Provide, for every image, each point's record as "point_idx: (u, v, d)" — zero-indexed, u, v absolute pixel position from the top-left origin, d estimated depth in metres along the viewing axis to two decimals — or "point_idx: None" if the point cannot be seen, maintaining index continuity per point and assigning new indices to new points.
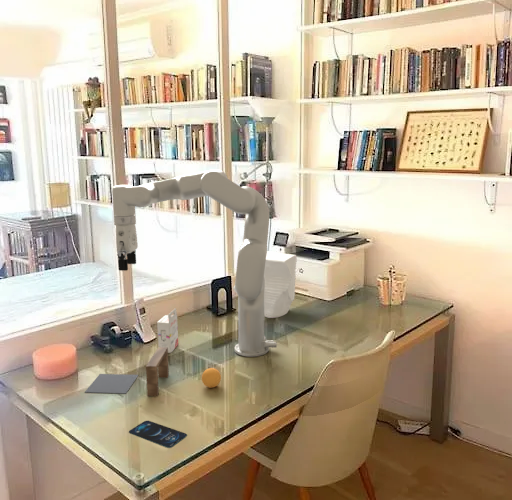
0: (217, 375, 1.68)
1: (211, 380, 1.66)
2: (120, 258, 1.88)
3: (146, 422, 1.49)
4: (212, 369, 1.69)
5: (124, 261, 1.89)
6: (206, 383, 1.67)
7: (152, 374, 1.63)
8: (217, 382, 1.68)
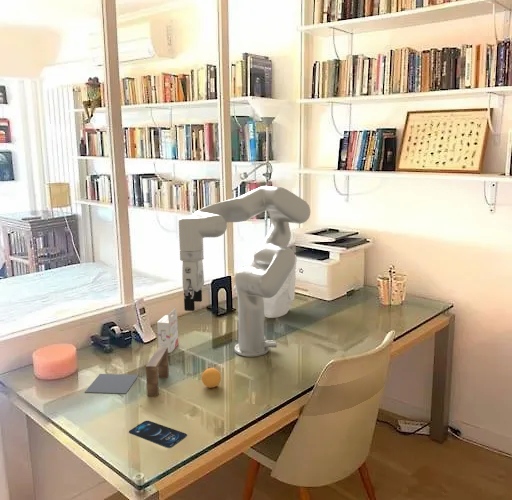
0: (217, 375, 1.68)
1: (211, 380, 1.66)
2: (187, 298, 1.70)
3: (146, 422, 1.49)
4: (212, 369, 1.69)
5: (191, 301, 1.71)
6: (206, 383, 1.67)
7: (152, 374, 1.63)
8: (217, 382, 1.68)
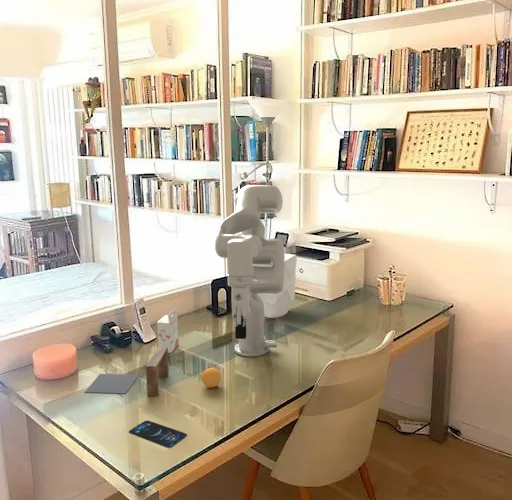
0: (217, 375, 1.68)
1: (211, 380, 1.66)
2: (239, 325, 1.63)
3: (146, 422, 1.49)
4: (212, 369, 1.69)
5: (243, 328, 1.64)
6: (206, 383, 1.67)
7: (152, 374, 1.63)
8: (217, 382, 1.68)
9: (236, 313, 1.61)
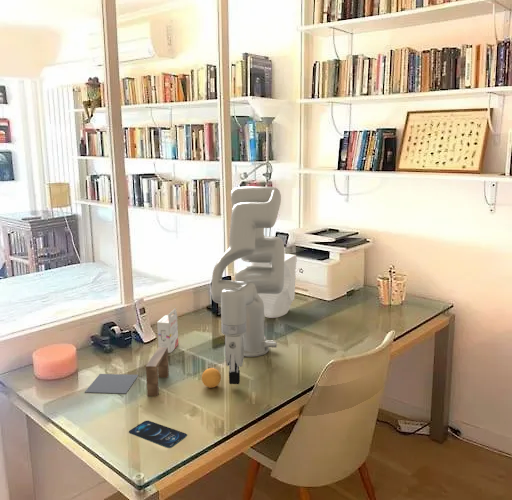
0: (217, 375, 1.68)
1: (211, 380, 1.66)
2: (232, 372, 1.66)
3: (146, 422, 1.49)
4: (212, 369, 1.69)
5: (236, 374, 1.67)
6: (206, 383, 1.67)
7: (152, 374, 1.63)
8: (217, 382, 1.68)
9: (230, 360, 1.64)
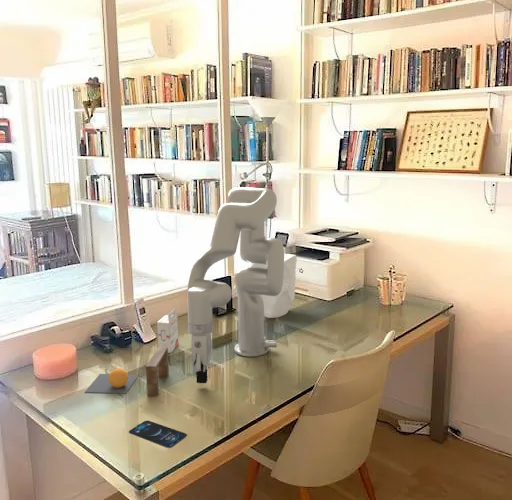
0: None
1: (115, 383, 1.67)
2: (199, 371, 1.67)
3: (146, 422, 1.49)
4: None
5: (203, 373, 1.68)
6: (120, 379, 1.67)
7: (152, 374, 1.63)
8: (110, 379, 1.68)
9: (196, 359, 1.65)
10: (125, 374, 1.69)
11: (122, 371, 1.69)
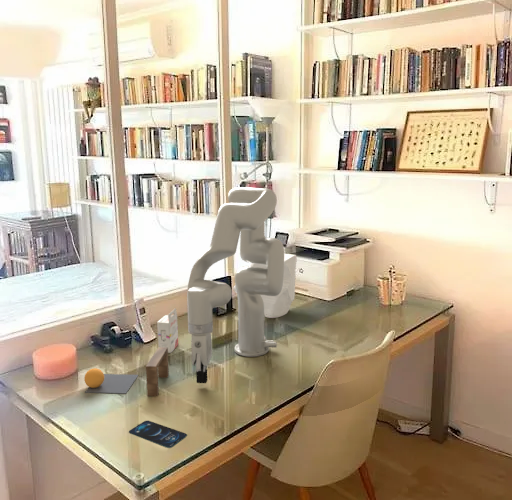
0: (100, 379, 1.68)
1: (92, 381, 1.67)
2: (199, 371, 1.67)
3: (146, 422, 1.49)
4: (99, 371, 1.69)
5: (203, 373, 1.68)
6: (87, 381, 1.67)
7: (152, 374, 1.63)
8: (97, 385, 1.68)
9: (196, 359, 1.65)
10: None
11: None
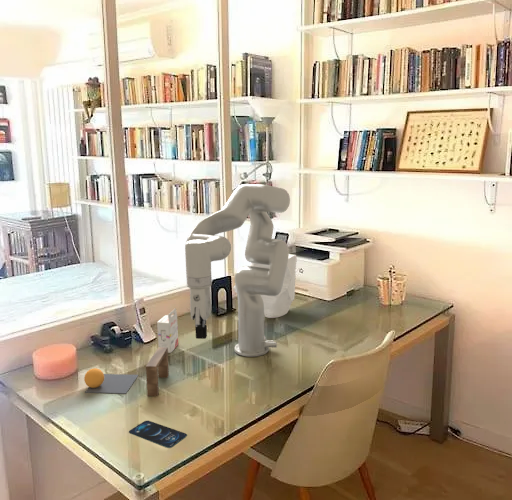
0: (100, 379, 1.68)
1: (92, 381, 1.67)
2: (198, 325, 1.64)
3: (146, 422, 1.49)
4: (99, 371, 1.69)
5: (203, 328, 1.65)
6: (86, 381, 1.67)
7: (152, 374, 1.63)
8: (97, 385, 1.68)
9: (195, 314, 1.62)
10: (84, 378, 1.69)
11: None
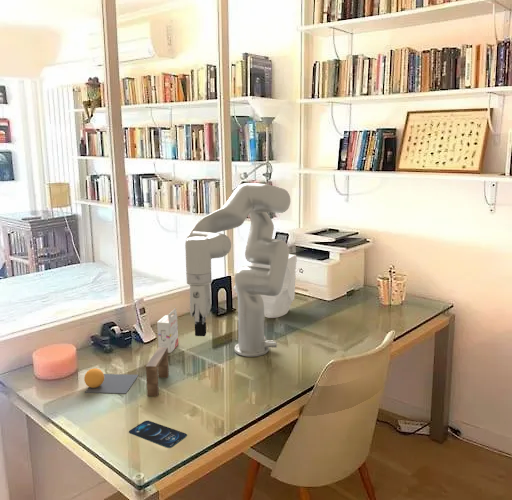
0: (100, 379, 1.68)
1: (92, 381, 1.67)
2: (198, 323, 1.64)
3: (146, 422, 1.49)
4: (99, 371, 1.69)
5: (202, 326, 1.65)
6: (86, 381, 1.67)
7: (152, 374, 1.63)
8: (97, 385, 1.68)
9: (195, 311, 1.62)
10: (84, 378, 1.69)
11: None
